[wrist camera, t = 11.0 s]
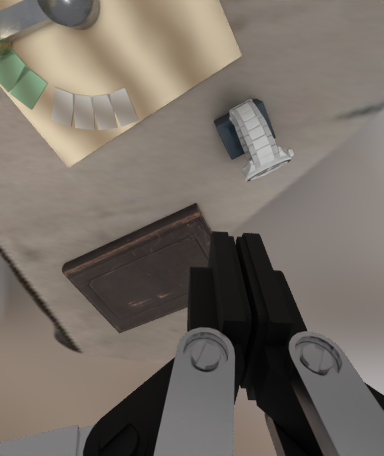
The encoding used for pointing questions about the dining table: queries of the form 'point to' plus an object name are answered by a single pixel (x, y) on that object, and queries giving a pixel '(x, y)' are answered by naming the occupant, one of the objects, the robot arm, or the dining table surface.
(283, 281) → the robot arm
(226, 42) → the dial board
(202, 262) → the hardcover book
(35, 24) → the lever
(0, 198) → the dining table surface
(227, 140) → the watch
